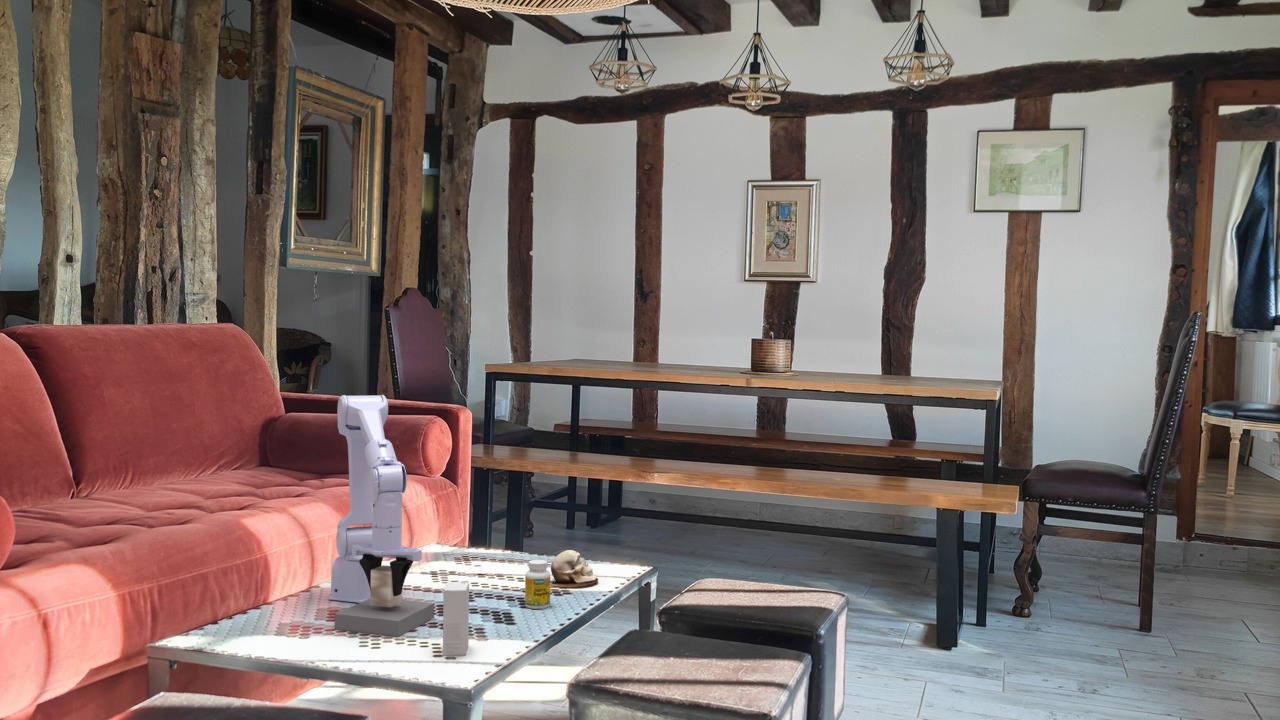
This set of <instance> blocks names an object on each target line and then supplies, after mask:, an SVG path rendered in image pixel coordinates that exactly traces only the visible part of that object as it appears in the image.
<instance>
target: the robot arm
mask: <svg viewBox="0 0 1280 720" xmlns="http://www.w3.org/2000/svg"><path fill="white" fill-rule="evenodd" d="M388 415H389V402H388V398H387V397H386V396H385V395H384V394H379V395H346V394H341V396H340V397H339V398H338V401H337V429H338V433H339V434H340V435H342V436H344V437H345V438H346V441H347V453H348V454H347V455H348V457H347V458H348V487H349V488H348V489H349V512H348V513H347V514H346V515H345V516H343V517H342V518H341V519H339V521H338V523H337V529H336V531H337V532H336V538H335V539H336V541H335V544H336V545H335V546H336V551H337V554H338V556H337V557H336V558H335V559H334V561H333V563H332V566H331V572H330V573H331V574H330V577H331V578H330V579H331V580H330V581H331V582H330V596H329V597H328V600H331V601H340V602H349V603H356V604H358V603H360V602H363V601H365V600H367V599H370V595H371V570H372V569H375V568H377V567H380V566H382V564H383V560H384V558H385V559H387V558H388V559H394V560H392V561H390V562H389V566H390V567H391V571H392V579H393V596H398V595H400V594H401V592H402V593H403V589H402V588H403V587H404V584H405V580H406V577H407V576H408V573H409V571H410V568H411V567H412V565H413V563H414V562H419V561H420V560H422V559H423V558H422V557H423V556H422V553H423V551H422V549H417V548H413V547H407V546H403V545H402V537H403V536H402V535H403V534H402V530H403V529H402V528H403V524H402V522H403V494H404V493H406V490H407V484H408V483H407V480H408V479H407V471H406V467H405V465H404V464H403V463H401V461H398V458H397V456H396V452H395V449H394V446H393V444H392V442H391V441H390V440H389V439H386V437H385V431H384V426H385V423H386V421H387V419H388ZM361 525H369V526H361ZM350 526H353V527H350ZM354 526H355V527H354Z"/></svg>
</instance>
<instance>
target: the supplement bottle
mask: <svg viewBox="0 0 1280 720" xmlns="http://www.w3.org/2000/svg"><path fill="white" fill-rule="evenodd" d="M527 567H528V569H529V570H527V571H526V573H525V575H524V576H525V577H524V580H525V581H524V584H525V587H524V588H525V590H524V594H525V595H524V605H525V607H526V608H527V609H531V610H542V609H547V608H549V607H550V605H551V586H550V584H551V573H550V571H548V570H547V569H548V561H547V560H544V559H532V560H529V561H528V566H527Z"/></svg>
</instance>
